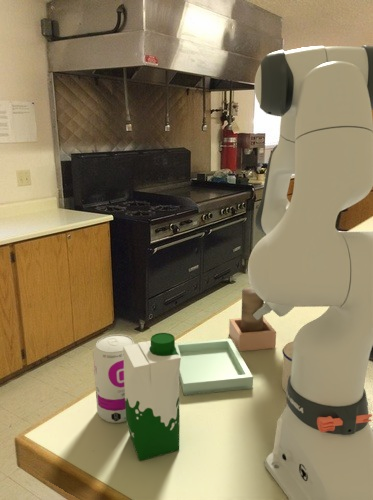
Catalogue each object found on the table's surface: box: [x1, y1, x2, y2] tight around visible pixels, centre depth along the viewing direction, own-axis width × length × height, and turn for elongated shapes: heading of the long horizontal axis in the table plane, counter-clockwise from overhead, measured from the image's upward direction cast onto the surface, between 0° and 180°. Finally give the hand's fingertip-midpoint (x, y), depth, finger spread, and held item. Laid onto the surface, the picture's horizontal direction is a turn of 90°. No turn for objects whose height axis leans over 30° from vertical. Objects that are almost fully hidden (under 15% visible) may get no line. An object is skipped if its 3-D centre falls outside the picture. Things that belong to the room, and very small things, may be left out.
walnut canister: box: [240, 287, 265, 333], centre depth 111 cm, size 6×6×14 cm
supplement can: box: [92, 333, 136, 424], centre depth 82 cm, size 8×8×15 cm
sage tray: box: [175, 338, 254, 396], centre depth 98 cm, size 18×15×3 cm
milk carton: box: [123, 332, 181, 462], centre depth 73 cm, size 9×9×20 cm
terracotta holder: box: [228, 316, 277, 352], centre depth 112 cm, size 10×10×4 cm
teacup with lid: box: [281, 341, 293, 393], centre depth 91 cm, size 12×9×12 cm
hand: (250, 311), depth 110 cm, fingers closed on walnut canister, 6 cm apart
